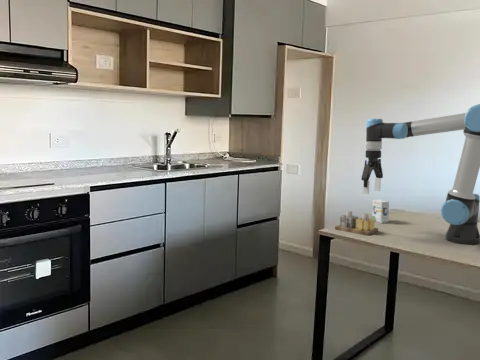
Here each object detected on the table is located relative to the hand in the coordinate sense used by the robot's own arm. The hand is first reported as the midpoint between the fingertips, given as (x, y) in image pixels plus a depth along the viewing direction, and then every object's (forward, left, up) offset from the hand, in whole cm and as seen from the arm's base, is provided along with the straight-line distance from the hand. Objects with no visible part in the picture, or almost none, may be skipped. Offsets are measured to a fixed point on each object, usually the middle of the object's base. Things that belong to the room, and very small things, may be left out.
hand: (371, 192), depth 250 cm
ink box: (+25, -11, -20) cm, 34 cm away
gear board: (+2, +6, -20) cm, 21 cm away
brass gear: (-1, +3, -19) cm, 19 cm away
